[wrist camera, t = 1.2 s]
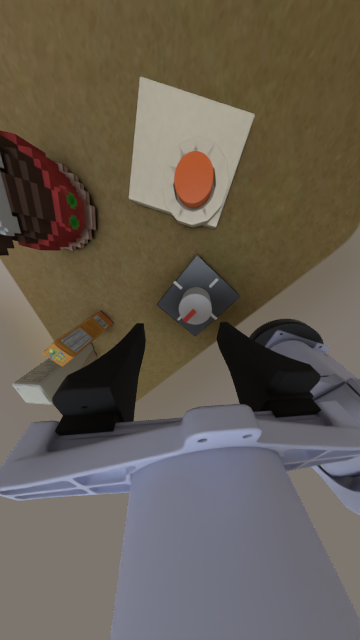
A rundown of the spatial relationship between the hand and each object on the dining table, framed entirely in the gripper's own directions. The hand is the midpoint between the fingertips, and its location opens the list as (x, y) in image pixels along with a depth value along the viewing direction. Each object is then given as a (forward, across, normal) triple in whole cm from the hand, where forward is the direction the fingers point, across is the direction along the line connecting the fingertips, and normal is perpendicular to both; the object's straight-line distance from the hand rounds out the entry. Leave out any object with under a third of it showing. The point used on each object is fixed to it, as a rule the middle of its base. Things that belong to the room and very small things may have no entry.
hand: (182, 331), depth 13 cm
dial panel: (+10, -3, +1) cm, 11 cm away
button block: (+12, -1, -14) cm, 19 cm away
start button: (+9, -2, -12) cm, 15 cm away
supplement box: (+13, +14, +7) cm, 20 cm away
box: (+14, +19, +15) cm, 28 cm away
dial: (+8, -3, 0) cm, 8 cm away
